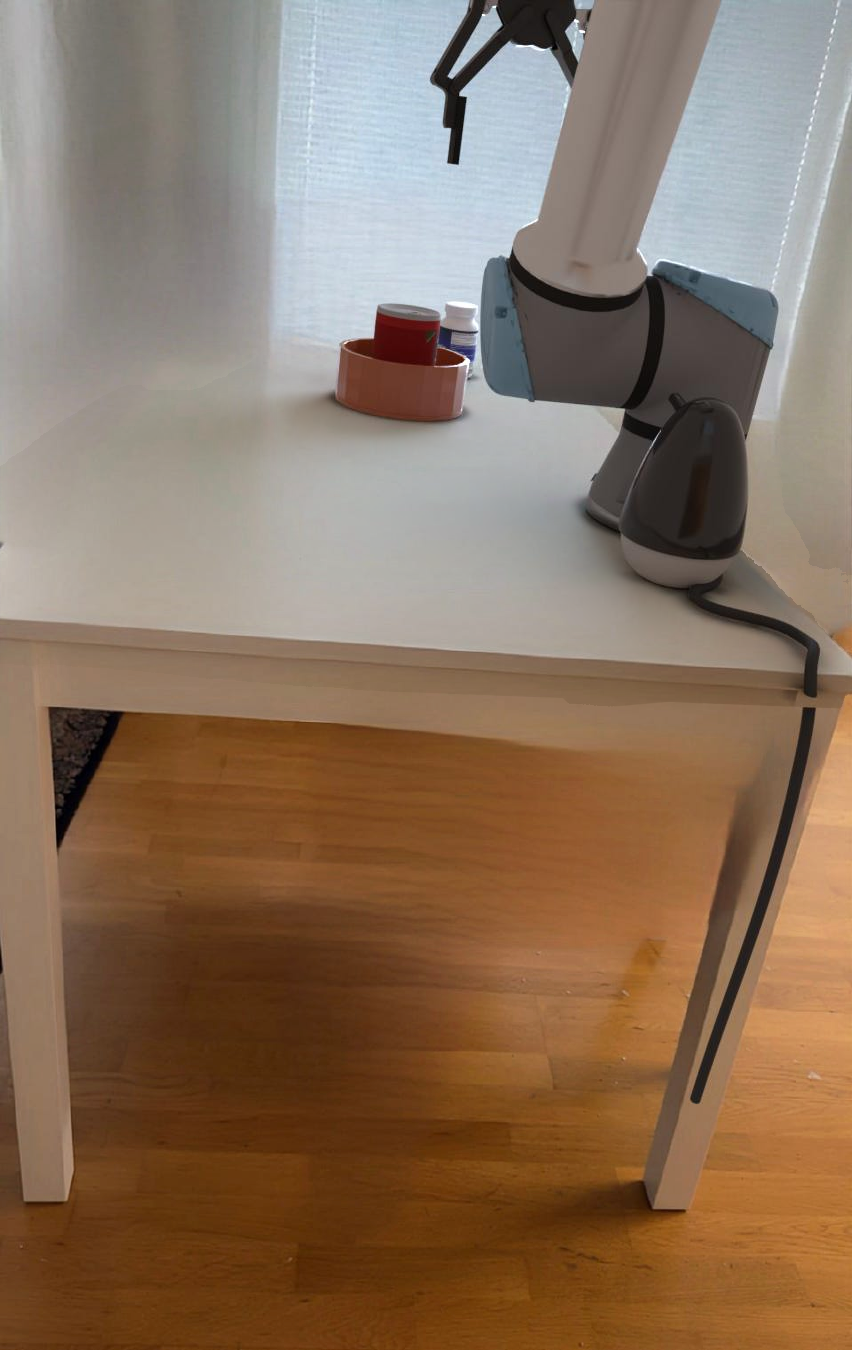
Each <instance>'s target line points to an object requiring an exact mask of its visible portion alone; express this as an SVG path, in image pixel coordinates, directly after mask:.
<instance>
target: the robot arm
mask: <svg viewBox="0 0 852 1350" xmlns="http://www.w3.org/2000/svg"><path fill="white" fill-rule="evenodd" d="M722 3H723V0H594V1H593V5H592V8H577V7H576V4H575V0H468V5H467V9H466V14H465V15H464V17H463V18H462V21H461V22H460V24H459V26H458V27H457V29H456V31H455V33H454V34H453V36H452V38H451V39H450V41H449V43H448V45H447V47H446V48H445V50H444V52H443V53H442V55H441V57H440V59H439V60H438V62H437V64H436V66H435V68H434V69H433V70H432V73H431V74H430V77H429V82H430V84H431V85H432V86H435V87H437V88H438V89H440V90H441V91H442V92H443V93H444V96H445V97H444V105H443V115H442V126H443V128H444V129H449V130H450V135H449V142H448V143H449V144H448V152H447V160H446V164H447V165H457V166H459V165H460V157H461V150H462V142H463V133H464V124H465V117H466V108H467V103H468V100H467V99H468V96H463V95H460V94H461V92H462V90H463V89H464V88H465V87H466V86H468V84H469V83H470V82H471V81H472V80H473V79H474V78H475V77H476V76H477V75H478V74H479V73H480V72H481V70H482V69H483V68H484V67H485V66H486V65H487V64H488V63H490V61H491V60H492V59H493V58H494V57H495V56H496V55H497V54H498V53H499V52H500V51H501V50H502V48H504V47H505V46H506V45H507V44H508V43H511V45H513V47H516V48H526V47H529V48H531V49H532V50H535V51H541V52H543V51H547V50H550V52H551V54H552V56H553V57H554V58H555V59H556V61H557V63H558V65H559V67H560V70H561V71H562V74H563V76H564V78H565V79H566V81H567V83H568V85H569V87H570V89H571V90H570V93H569V97H568V101H567V104H566V109H565V112H564V117H563V121H562V124H561V128H560V132H559V136H558V139H557V143H556V146H555V151H554V155H553V159H552V162H551V166H550V170H549V175H548V178H547V182H546V186H545V189H544V193H543V198H542V200H541V201H542V202H541V206H540V209H539V213H538V217H537V219H535V220H533V221H531V222H530V223H527V224H525V225H524V226H522V227H520V228H519V229H518V231H517V232H516V234H515V237H514V239H513V243H512V247H511V250H510V255H509V257H507V256H505V255H502V254H501V255H498V256H494V257H493V256H492V257H491V258H489V259H488V260H487V262H486V266H485V268H484V271H483V276H482V283H481V294H480V309H479V310H480V312H479V317H480V319H479V329H480V330H479V334H480V335H479V337H480V338H479V339H480V340H479V341H480V355H481V366H482V372H483V377H484V379H485V382H486V384H487V386H488V388H489V389H490V390H491V391H492V392H494V393H495V394H497V395H499V396H503V397H510V398H515V399H524V400H527V401H528V402H529V403H535V402H537V401H538V402H549V403H557V404H558V403H559V404H570V405H582V406H590V407H601V408H602V407H603V408H611V409H612V408H613V409H622V410H624V411H623V417H622V421H621V426H620V430H619V433H618V435H617V438H616V440H615V441H614V443H613V445H612V446H611V448H610V450H609V452H608V454H607V455H606V456H605V458H604V461H603V463H602V464H601V466H600V468H599V470H598V471H597V473H594V474H593V476H592V478H591V479H590V481H589V482H590V483H591V484H590V487H589V489H588V492H587V498H586V503H585V509H586V512H587V513H588V514H589V515H590V516H591V517H592V518H593V519H595V520H596V521H597V522H599V523H601V524H603V525H605V526H607V527H608V528H610V529H613V530H615V531H617V532H620V530H619V527H618V525H619V519H620V515H621V512H622V509H623V506H624V503H625V500H626V497H627V495H628V492H629V489H630V487H631V484H632V482H633V480H634V477H635V475H636V473H637V471H638V469H639V467H640V465H641V463H642V461H643V459H644V457H645V455H646V453H647V452H648V450H649V448H650V446H651V444H652V443H653V441H654V439H655V438H656V436H657V435H658V433H659V432H660V430H661V429H662V427H663V426H664V425H665V423H666V422H667V421H668V419H669V418H670V417H671V416H672V415H673V414H674V411H673V409H672V407H671V406H670V404H669V402H668V398H669V396H670V395H671V394H672V393H679V394H680V395H681V396H682V398H683V399H684V400H685V401H686V402H688V401H691V400H693V399H696V398H701V397H712V398H717V399H719V400H722V401H724V402H725V403H727V404H728V405H729V406H731V407H732V408H733V409H734V411H735V412H736V414H737V415H738V417H739V420H740V423H741V426H742V429H743V432H744V437H745V442H747V439H748V435H749V431H750V427H751V423H752V420H753V416H754V412H755V409H756V406H757V401H758V398H759V393H760V390H761V387H762V383H763V380H764V376H765V372H766V368H767V366H768V365H767V364H768V362H769V361H768V360H769V358H770V353H771V350H773V348H774V346H775V345H774V343H775V342H774V339H775V334H776V326H777V322H778V316H779V311H780V310H779V302H778V300H777V298H776V296H775V294H773V293H772V292H771V291H770V290H768V289H766V288H764V287H761V286H759V285H755V284H751V283H749V282H745V281H742V280H740V279H736V278H733V277H729V276H727V275H726V276H725V275H723V274H719V273H716V272H713V271H709V270H706V269H702V268H699V267H695V266H691V265H688V264H684V263H680V262H677V261H671V260H668V259H665V258H660V259H657V261H656V262H655V264H654V266H653V267H652V268H651V272H650V274H651V275H648V273H649V269H648V263H647V261H646V259H645V257H644V256H643V254H642V252H641V251H640V248H639V245H640V242H641V239H642V236H643V233H644V230H645V228H646V225H647V223H648V219H649V216H650V212H651V211H652V207H653V204H654V201H655V199H656V195H657V192H658V190H659V186H660V184H661V180H662V177H663V175H664V172H665V169H666V166H667V163H668V160H669V158H670V154H671V151H672V148H673V145H674V142H675V141H676V137H677V134H678V131H679V128H680V125H681V122H682V118H683V115H684V113H685V110H686V107H687V104H688V101H689V98H690V95H691V92H692V90H693V87H694V83H695V81H696V77H697V75H698V72H699V69H700V66H701V63H702V60H703V57H704V54H705V51H706V49H707V45H708V43H709V39H710V37H711V34H712V32H713V27H714V25H715V22H716V19H717V16H718V13H719V11H720V7H721V5H722ZM492 8H495V12H496V14H497V17H498V18H499V20H500V24H501V26H500V27H499V28H498V29H497V30H496V31H495V32H494V33H493V34H492V35H491V36H490V38H489V39H488V40H487V41H486V42H485V43H484V44H483V45H482V47H481V48H480V49H479V50H478V51H477V52H476V53H475V54H474V55H473V56H471V58H470V59H469V60H468V61H467V62H466V63H465V64H464V66H463V67H462V68H461V69H460V70H459V71H457V73H456V74H455V75H454V76H453V77H452V78H451V77H449V75H450V73H451V72H452V70H453V68H454V66H455V64H456V63H457V61H458V59H459V58H460V56H461V54H462V52H463V51H464V49H465V48H466V45H467V44H468V42H469V41H470V39H471V37H472V35H473V34H474V32H475V31H476V29H477V26H479V24H480V21H481V19H482V17H485V16H486V15H488V14H489V13H490V11H491V9H492ZM574 22H575V23H576V24H577V28H578V29H577V30H578V31H579V32H580V33H582V38H583V39H582V40H583V42H582V47H581V51H580V54H579V58H578V59H577V57H576V55H575V53H574V50H573V46H572V43H571V41H570V39H569V37H568V35H567V33H566V32H567V31H568V29H569V28H570V27H571V26H572V25H573V23H574ZM723 575H724V574H723V573H722V574H721V575H720V576H719V577H718V578H716V579H715V580H713V581H712V582H709V583H705V584H695V585H693V586H692V587H690V588H688V591H687V597H688V599H689V601H690V602H691V603H692V604H693V605H695V606H696V607H698V608H699V609H701V610H703V611H705V612H708V613H710V614H713V615H717V616H719V617H722V618H727V619H731V620H735V621H738V622H739V621H740V622H743V623H748V624H751V625H755V626H758V627H763V628H766V629H771V630H772V631H776V632H779V633H781V634H783V635H785V636H787V637H789V638H791V639H792V640H794V641H795V642H797V643H798V644H800V645H801V646H803V647H804V648H805V649H806V656H805V661H804V671H803V693H804V695H805V696H807V697H809V698H811V699H815V698H817V696H818V668H819V667H818V666H819V660H820V653H821V648H820V644H819V642H818V641H816V639H814V638H813V637H811V636H810V635H808V634H807V633H805V632H803V631H802V630H801V629H799V628H797V627H796V626H794V625H792V624H790V623H788V622H785V621H783V620H781V619H778V618H774V617H770V616H767V615H763V614H760V613H756V612H751V611H747V610H743V609H739V608H734V607H731V606H727V605H723V604H720V603H717V602H715V601H711V600H709V599H707V598H705V597H704V596H702V595H701V594H703V593H705V592H709V591H711V590H713V589H715V588H717V587H718V586H720V585H721V583H722V582H723V577H724V576H723ZM801 710H802V711H801V718H800V719H801V720H800V725H799V726H800V727H799V732H798V738H797V743H796V747H795V753H794V757H793V762H792V768H791V772H790V776H789V781H788V785H787V790H786V792H785V793H786V794H785V798H784V802H783V807H782V810H781V813H780V817H779V822H778V826H777V830H776V833H775V838H774V841H773V845H772V848H771V852H770V856H769V859H768V863H767V866H766V870H765V872H764V876H763V879H762V883H761V886H760V888H759V889H760V890H759V892H758V895H757V899H756V901H755V905H754V908H753V911H752V913H751V917H750V921H749V923H748V926H747V929H746V933H745V935H744V938H743V941H742V944H741V947H740V950H739V953H738V956H737V959H736V962H735V964H734V967H733V970H732V973H731V976H730V979H729V981H728V984H727V987H726V989H725V993H724V995H723V998H722V1000H721V1004H720V1007H719V1010H718V1012H717V1014H716V1018H715V1020H714V1024H713V1027H712V1029H711V1033H710V1035H709V1038H708V1041H707V1045H706V1047H705V1051H704V1052H703V1057H702V1059H701V1063H700V1065H699V1068H698V1072H697V1075H696V1077H695V1081H694V1084H693V1086H692V1090H691V1093H690V1097H689V1101H690V1102H691V1103H692V1104H695V1105H699V1104H700V1103H701V1101H702V1098H703V1095H704V1092H705V1089H706V1085H707V1082H708V1079H709V1077H710V1073H711V1070H712V1067H713V1065H714V1061H715V1060H716V1059H715V1058H716V1056H717V1053H718V1049H719V1047H720V1045H721V1041H722V1039H723V1035H724V1033H725V1030H726V1027H727V1024H728V1022H729V1019H730V1015H731V1013H732V1010H733V1008H734V1005H735V1003H736V1000H737V997H738V993H739V991H740V988H741V986H742V983H743V980H744V976H745V974H746V971H747V969H748V966H749V963H750V961H751V957H752V955H753V952H754V949H755V947H756V942H757V940H758V937H759V934H760V931H761V929H762V926H763V923H764V920H765V916H766V914H767V911H768V908H769V904H770V901H771V898H772V896H773V892H774V889H775V886H776V882H777V879H778V876H779V873H780V870H781V866H782V862H783V859H784V855H785V853H786V852H785V851H786V848H787V845H788V841H789V838H790V833H791V830H792V826H793V822H794V819H795V814H796V811H797V808H798V807H797V806H798V802H799V799H800V794H801V789H802V786H803V781H804V776H805V773H806V769H807V768H806V767H807V765H808V764H807V762H808V759H809V753H810V750H811V749H810V748H811V743H812V738H813V732H814V726H815V720H816V711H817V707H815V706H814V707H811V706H810V707H809V706H803V707H802V709H801Z"/></svg>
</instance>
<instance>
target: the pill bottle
mask: <svg viewBox="0 0 852 1350" xmlns="http://www.w3.org/2000/svg"><path fill="white" fill-rule="evenodd" d="M444 312H445V317H443V318H441V322H440V331H439V339H438V347H442V348H445V349H449V350H452V351H455V352H458V353H460V354H462V355H464V356H466V357H467V358H468V359H469V360H470V362H469V370H468V377H467V379H468V378H471V377H472V375H473V373H474V365H475V359H476V351H477V343H478V336H479V329H480V327H479V324H478V323H477V322H476V319H475V318H476V317H477V316H478V312H479V306H478V305H476V304H473V303H469V302H463V301H446V302H445V306H444Z"/></svg>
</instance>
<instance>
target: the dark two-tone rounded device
mask: <svg viewBox="0 0 852 1350" xmlns="http://www.w3.org/2000/svg"><path fill="white" fill-rule="evenodd" d="M668 402H669V404H670V406H671V407H672V409H673V411H674V414H673V415H672V416H671V417H670V418H669V419H668V421H667V422H666V423H665V425H664V426H663V427H662V429H661V430H660V432H659V433H658V435H657V436H656V438H655V439H654V441H653V443H652V444H651V446H650V448H649V450H648V452H647V453H646V455H645V457H644V459H643V461H642V463H641V465H640V467H639V469H638V471H637V473H636V475H635V477H634V480H633V482H632V484H631V487H630V489H629V492H628V495H627V497H626V500H625V503H624V506H623V509H622V512H621V515H620V519H619V525H618V527H619V530H620V531H619V533H620V544H621V549H622V552H623V555H624V558H625V560H626V562H627V563H628V565H629V566H630V567H631V568H632V570H633V571H634V572H635V573H637V574H638V575H639V576H640V577H642V578H644V579H645V580H647V581H649V582H651V583H653V584H656V585H660V586H662V587H668V588H673V589H689V588H690V587H692V586H693V585H695V584H705V583H709V582H712V581H713V580H715V579H716V578H718V577H719V576H720V575H721V574H723V573H725V571H726V570H727V569H728V567H729V566H730V565H731V563H732V561H733V560H734V558H735V556H737V555H738V554H739V553H740V551H741V549H742V547H743V542H744V537H745V532H746V524H747V517H748V516H747V515H748V504H749V462H748V461H749V460H748V450H747V443H746V442H747V441H746V442H745V437H744V432H743V429H742V426H741V423H740V420H739V417H738V415H737V414H736V412H735V411H734V409H733V408H732V407H731V406H729V405H728V404H727V403H725V402H724V401H722V400H719V399H717V398H712V397H701V398H696V399H693V400H691V401H688V402H686V401H685V400H684V399H683V398H682V396H681V395H680V394H679V393H672V394H671V395H670V396H669V398H668Z"/></svg>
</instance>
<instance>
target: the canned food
mask: <svg viewBox="0 0 852 1350" xmlns="http://www.w3.org/2000/svg"><path fill="white" fill-rule="evenodd" d="M376 307H377V308H376V311H375V312H376V314H375V321H374V331H373V338H374V341H373V352H372V358H375V359H379V360H384V361H390V362H396V363H403V364H413V365H423V366H435V362H436V354H437V346H438V339H439V331H440V322H441V320H442V318H441V316H442V314H441V312H439V311H437V310H435V309H433V308H428V307H424V306H418V305H412V304H405V303H391V302H390V303H389V302H388V303H380V304H377V306H376Z"/></svg>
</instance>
